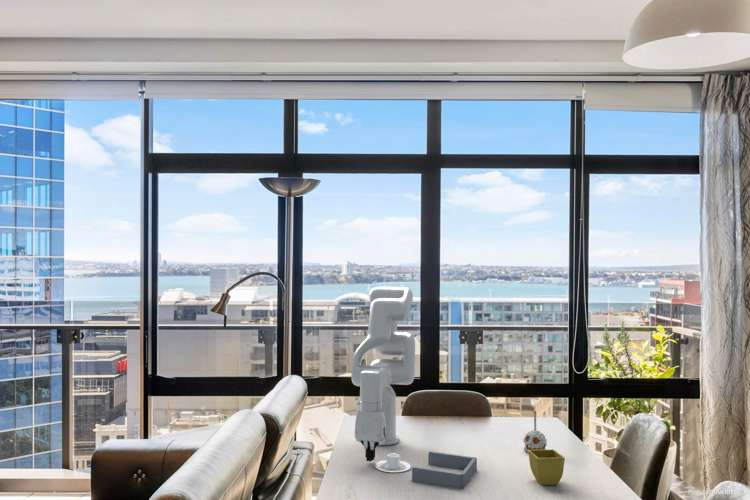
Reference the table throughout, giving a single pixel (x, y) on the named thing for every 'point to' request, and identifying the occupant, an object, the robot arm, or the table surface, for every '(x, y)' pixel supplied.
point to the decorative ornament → (534, 439)
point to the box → (442, 476)
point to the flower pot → (546, 466)
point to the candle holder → (393, 463)
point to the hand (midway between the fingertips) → (370, 460)
